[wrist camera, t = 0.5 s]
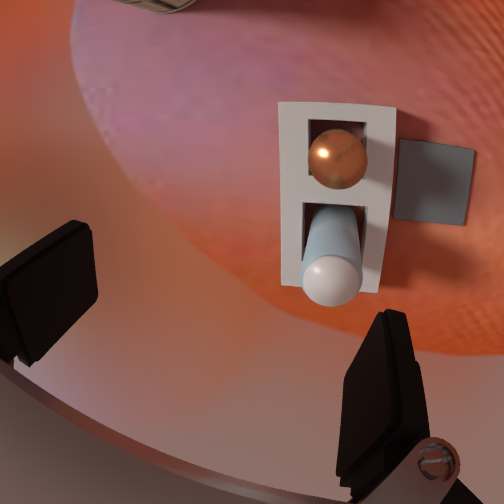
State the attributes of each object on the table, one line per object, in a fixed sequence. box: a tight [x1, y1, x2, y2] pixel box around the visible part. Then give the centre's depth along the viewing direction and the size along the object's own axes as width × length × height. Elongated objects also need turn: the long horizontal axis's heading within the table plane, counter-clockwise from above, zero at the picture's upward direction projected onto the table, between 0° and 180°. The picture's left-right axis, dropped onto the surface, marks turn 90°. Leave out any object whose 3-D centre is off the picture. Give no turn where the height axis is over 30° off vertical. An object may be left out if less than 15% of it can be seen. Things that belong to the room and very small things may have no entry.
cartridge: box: [300, 203, 363, 307], centre depth 27 cm, size 5×5×12 cm
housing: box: [278, 101, 396, 293], centre depth 29 cm, size 10×18×3 cm, turn 2°
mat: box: [393, 139, 474, 226], centre depth 27 cm, size 8×8×1 cm
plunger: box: [308, 128, 368, 190], centre depth 24 cm, size 4×4×6 cm
